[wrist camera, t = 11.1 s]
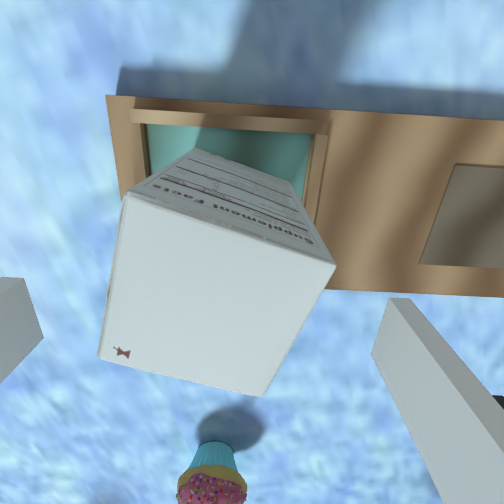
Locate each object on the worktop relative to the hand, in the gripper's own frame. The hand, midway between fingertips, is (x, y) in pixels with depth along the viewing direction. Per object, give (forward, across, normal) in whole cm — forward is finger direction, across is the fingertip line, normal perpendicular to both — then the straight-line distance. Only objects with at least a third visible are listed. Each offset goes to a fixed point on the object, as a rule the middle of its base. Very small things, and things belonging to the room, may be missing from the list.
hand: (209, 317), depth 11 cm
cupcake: (+15, +1, +34) cm, 37 cm away
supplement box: (+12, 0, 0) cm, 13 cm away
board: (+14, -9, -1) cm, 16 cm away
